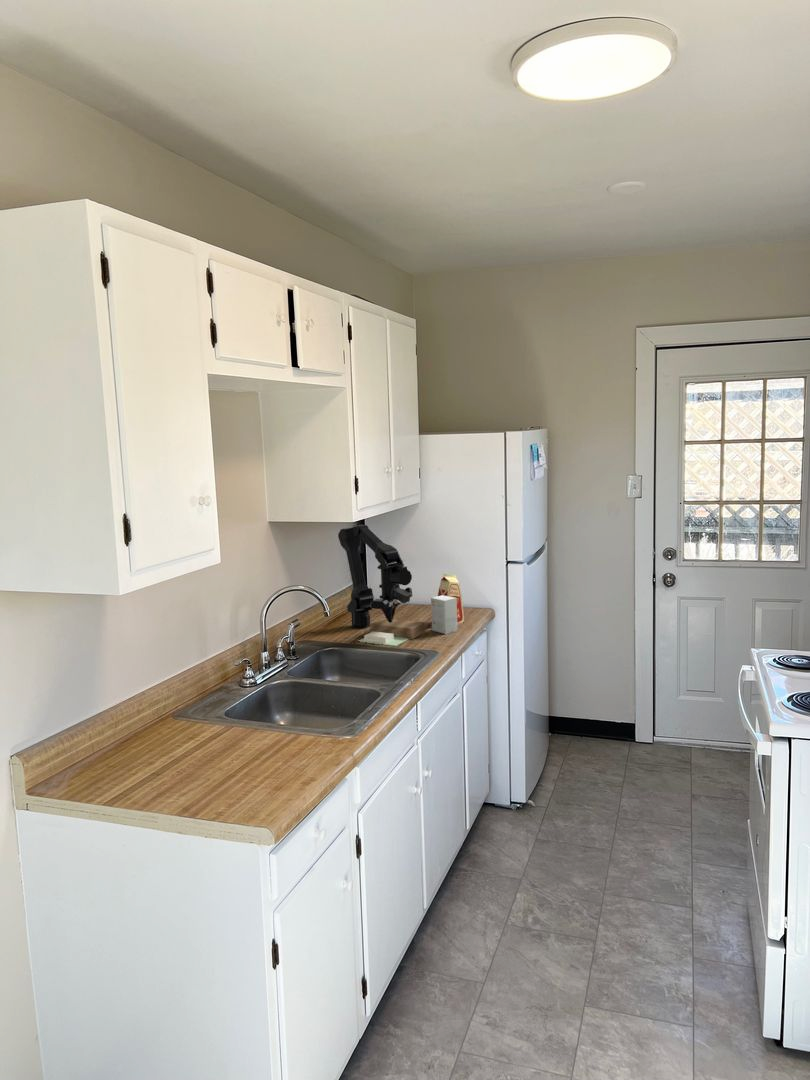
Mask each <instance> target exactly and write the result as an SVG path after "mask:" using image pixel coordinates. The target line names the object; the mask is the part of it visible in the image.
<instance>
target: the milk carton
mask: <svg viewBox="0 0 810 1080" xmlns="http://www.w3.org/2000/svg"><path fill="white" fill-rule="evenodd" d="M442 595H444V596H449V597H453V598H457V625H459V624H463V622H464V623H465V617H464V616H465V615H464V614H465V613H464V605H463V598H462V597H463V596H462V591H461V585H460V582H459V580H458V579H457V574H447V573H443V577H442V578H441V580H440V582H439V588H438V591H437V596H442Z"/></svg>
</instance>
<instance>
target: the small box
mask: <svg viewBox="0 0 810 1080" xmlns="http://www.w3.org/2000/svg"><path fill="white" fill-rule="evenodd" d="M430 608H431V611H430V613H431V614H430V615H431V616H430V617H431V618H430V619H431V631H433V632H436V633H440V634H443V635H448V634H452V633H456V632H458V624H457V598H453V597H449V596H444V595H442V596H438V595H437V596H431V597H430Z"/></svg>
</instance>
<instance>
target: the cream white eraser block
mask: <svg viewBox="0 0 810 1080" xmlns="http://www.w3.org/2000/svg"><path fill="white" fill-rule="evenodd" d="M363 636H364V637H363V638H364V641H371V642H380V643H387V642H389V641H391V640H393V639H394V634H391V633H382V632H369V633H367V634H365V635H363Z"/></svg>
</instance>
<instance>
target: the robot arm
mask: <svg viewBox="0 0 810 1080" xmlns="http://www.w3.org/2000/svg"><path fill="white" fill-rule="evenodd" d="M337 537H338V540H339V544H340V546H341V547H342V548H343V550H345V552H346V556H347V561H348V567H349V572H350V576H351V577H350V578H351V582H352V590H351V593H350V599H351V600H350V602H348V605H347V606H346V609H347V612H348V613H351V625H349V627H350V628H357V629H365V628H368V627H370V624H371V615H370V611H372V610H373V609H376V610H381V611H382V613H383V615H384V616H385V618H387V620H388V622H389V623H391V622H392V621H393V619H394V618H395V617H394V616H395V613H396V609H397V608H398V606H400V605H401V604H407V603H409V602H410V601H411V598H412V597H413V591H412V590H413V589H412V588H411V587H406V588H400V585H402V586H407V585H409V584H410V583H411V582H412V579H413V576H412V572H411V571H410V570H409V569H408V567H407V566H405V564H404V561H403V559H402V558H401V556H400V554H399V551H398V550H397V548H395V546H392V545H391V544H387V543H385V542H383V540H381V539H380V538H379V537H378V536H377V535H376V534H375V533H374V532H373V531H372V530H371V529H370V528H369V526H368V525H367V524H359V525H355V526H353V527H346V528H341V529H340V530H339V532H338V536H337ZM362 542H363V543H364V544H366V545H367V547H368V548H369V549H370V550H372V552H374V557H375V559H376V560H377V561H378V563H379V565H378V566H377V569H378V570H380V582H381V584H379V586H378V588H379V589H380V588H381V595H379V598H375V597H374V593H373V589H372V588H371V587H370V588H369V586H368V585H367V584H366V580H365V579H366V578H365V574H364V570H363V565H362V560H361V555H360V546H361V543H362ZM398 601H399V602H398Z"/></svg>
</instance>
